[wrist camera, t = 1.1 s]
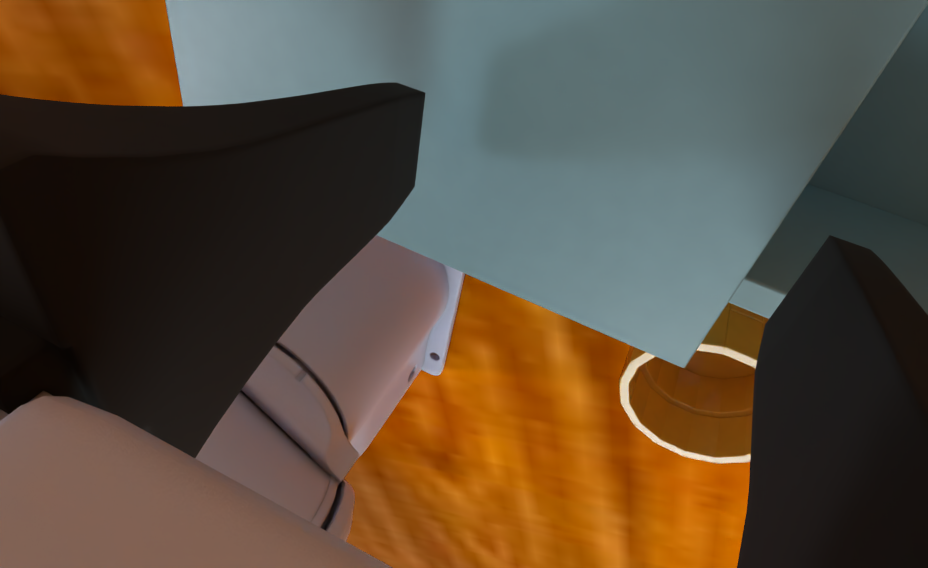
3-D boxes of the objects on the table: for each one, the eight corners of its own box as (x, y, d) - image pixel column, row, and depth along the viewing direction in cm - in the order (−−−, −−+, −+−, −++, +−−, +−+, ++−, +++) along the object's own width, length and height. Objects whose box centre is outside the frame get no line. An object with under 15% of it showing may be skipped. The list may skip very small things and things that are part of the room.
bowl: (751, 399, 23) (744, 485, 20) (623, 343, 25) (598, 417, 22) (831, 305, 20) (836, 392, 17) (675, 244, 21) (654, 316, 18)
